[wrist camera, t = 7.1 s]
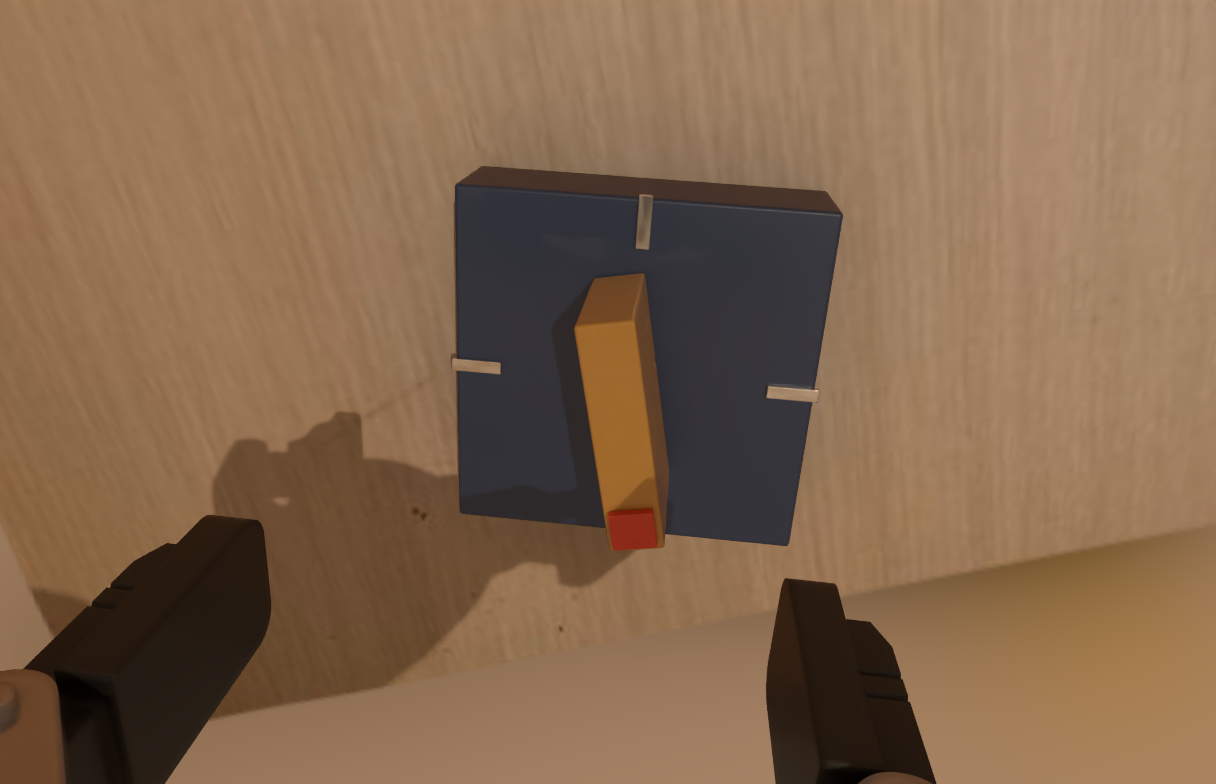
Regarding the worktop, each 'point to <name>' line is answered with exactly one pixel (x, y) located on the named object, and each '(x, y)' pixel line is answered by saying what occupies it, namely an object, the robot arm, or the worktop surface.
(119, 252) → the worktop surface
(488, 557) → the worktop surface
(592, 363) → the orange wooden bar
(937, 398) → the worktop surface
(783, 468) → the plate
